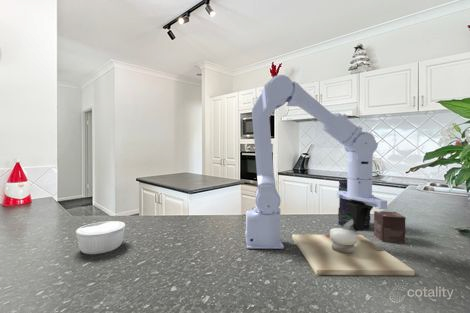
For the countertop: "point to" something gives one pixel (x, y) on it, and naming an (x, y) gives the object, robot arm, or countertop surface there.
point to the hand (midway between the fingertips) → (358, 230)
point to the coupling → (344, 234)
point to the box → (389, 226)
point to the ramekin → (100, 237)
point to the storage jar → (343, 211)
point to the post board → (348, 257)
